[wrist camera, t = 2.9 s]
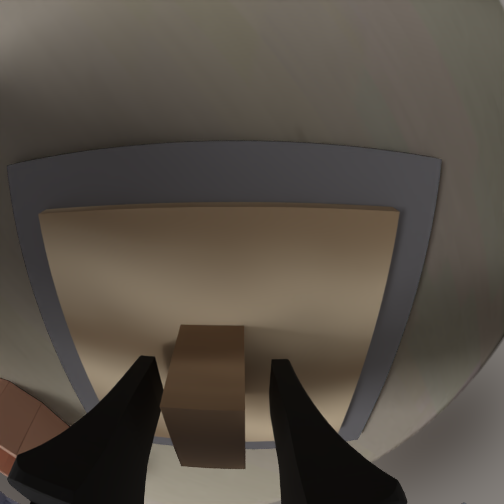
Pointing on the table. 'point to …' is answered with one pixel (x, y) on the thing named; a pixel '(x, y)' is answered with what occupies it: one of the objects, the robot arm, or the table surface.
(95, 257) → the lid
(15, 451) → the bowl
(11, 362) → the table surface
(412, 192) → the mat
